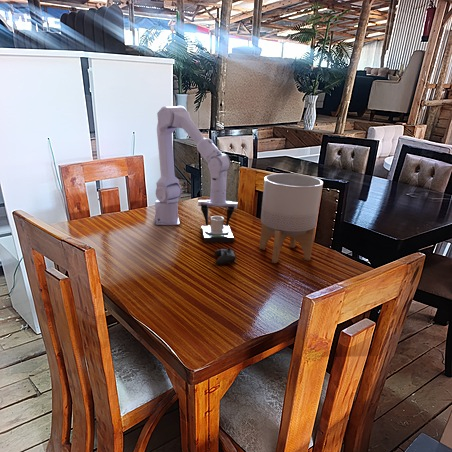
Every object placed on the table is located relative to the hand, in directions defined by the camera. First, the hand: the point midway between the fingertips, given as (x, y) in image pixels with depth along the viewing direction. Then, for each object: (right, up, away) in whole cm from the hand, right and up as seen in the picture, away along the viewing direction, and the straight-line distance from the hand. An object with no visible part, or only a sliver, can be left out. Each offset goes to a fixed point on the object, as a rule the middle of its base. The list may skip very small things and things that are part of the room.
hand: (217, 225), depth 153 cm
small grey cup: (0, -1, +1) cm, 2 cm away
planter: (+24, -13, -11) cm, 29 cm away
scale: (0, -4, +1) cm, 4 cm away
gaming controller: (+3, -16, -19) cm, 24 cm away
